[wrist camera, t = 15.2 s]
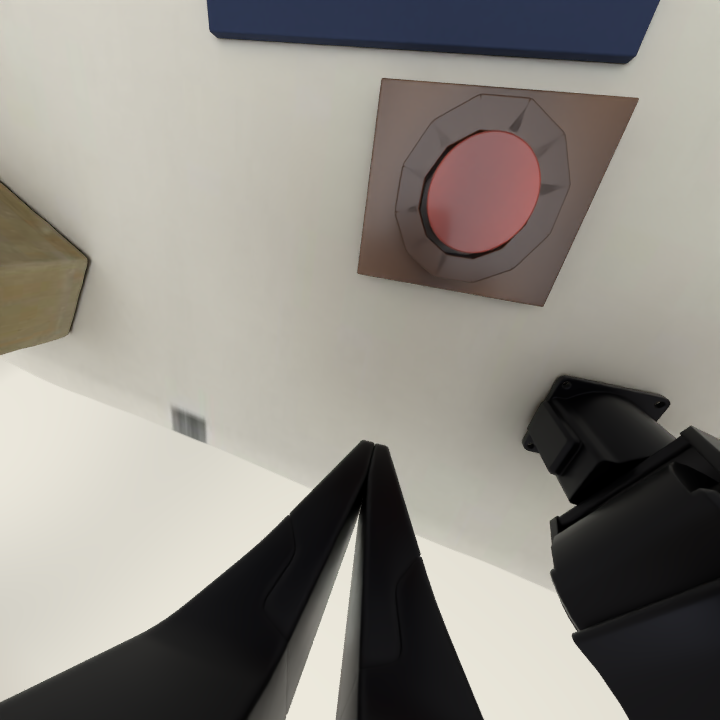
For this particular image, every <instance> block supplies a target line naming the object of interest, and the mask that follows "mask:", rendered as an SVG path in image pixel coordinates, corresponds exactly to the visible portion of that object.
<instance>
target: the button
mask: <svg viewBox="0 0 720 720" xmlns="http://www.w3.org/2000/svg"><path fill="white" fill-rule="evenodd" d="M540 186H541V172H540V167H539V162H538V160H537V157H536V155H535V153H534V151H533V149H532V148H531V147H530V146H529V144H528V143H527V142H526V141H524V140H523V139H522V138H520V137H519V136H517V135H515V134H513V133H510V132H507V131H501V130H490V131H484V132H480V133H477V134H474V135H472V136H470V137H468V138H466V139H464V140H463V141H461V142H460V143H458V144H457V145H456V146H455V147H453V148H452V149H451V150H450V151H449V152H448V153H447V154H446V156H445V157H444V158H443V159H442V161H441V162H440V164H439V165H438V167H437V169H436V171H435V172H434V174H433V177H432V179H431V182H430V185H429V189H428V195H427V216H428V221H429V224H430V227H431V229H432V231H433V232H434V234H435V235H436V237H437V238H438V239H439V240H440V241H441V242H442V243H444V244H445V245H446V246H448V247H449V248H451V249H453V250H456V251H458V252H463V253H482V252H486V251H490V250H492V249H495V248H497V247H499V246H501V245H503V244H504V243H506V242H507V241H509V240H510V239H511V238H513V237H514V236H515V235H516V234H517V233H518V232H519V231H520V230H521V229H522V228H523V226H524V225H525V224H526V222H527V221H528V219H529V218H530V216H531V214H532V213H533V210H534V208H535V206H536V203H537V200H538V197H539V192H540Z"/></svg>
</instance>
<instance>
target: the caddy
mask: <svg viewBox="0 0 720 720" xmlns="http://www.w3.org/2000/svg"><path fill="white" fill-rule="evenodd" d="M86 268H87V258H86V257H85V256H84V255H83V254H82V253H81V252H80V251H79V250H78V249H76V248H75V247H74V246H73V245H72V244H71V243H70V242H68V241H67V240H66V239H65V238H64V237H63V236H62V235H60V234H59V233H58V232H57V231H56V230H55V229H54V228H53V227H52V226H51V225H49V224H48V223H47V222H46V221H45V220H43V219H42V218H41V217H40V216H38V215H37V214H36V213H35V212H34V211H32V210H31V209H30V208H29V207H28V206H27V205H26V204H24V203H23V202H22V201H21V200H20V199H19V198H18V197H16V196H15V195H14V194H13V193H12V192H11V191H10V190H9V189H7V188H6V187H5V186H4V185H3V184H2V183H1V182H0V355H2V354H6V353H9V352H12V351H15V350H19V349H23V348H27V347H32V346H36V345H39V344H43V343H46V342H49V341H53V340H56V339H59V338H62V337H64V336H66V335H68V333H69V330H70V327H71V323H72V320H73V317H74V314H75V309H76V305H77V301H78V297H79V293H80V290H81V287H82V284H83V279H84V274H85V271H86Z"/></svg>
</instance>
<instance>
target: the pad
mask: <svg viewBox="0 0 720 720" xmlns="http://www.w3.org/2000/svg"><path fill="white" fill-rule="evenodd" d="M659 1H660V0H207V7H208V18H209V30H210V32H211V33H212V34H213V35H214V36H216V37H217V38H228V39H244V40H260V41H276V42H292V43H308V44H324V45H340V46H356V47H372V48H388V49H404V50H420V51H436V52H452V53H468V54H484V55H500V56H516V57H532V58H548V59H564V60H580V61H596V62H612V63H628V62H629V61H630V60H632V59H633V58H634V57H635V56H636V54H637V52H638V50H639V47H640V45H641V43H642V41H643V38H644V36H645V34H646V31H647V29H648V27H649V24H650V22H651V20H652V17H653V15H654V13H655V11H656V8H657V6H658V4H659Z"/></svg>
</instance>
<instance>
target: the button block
mask: <svg viewBox="0 0 720 720" xmlns="http://www.w3.org/2000/svg"><path fill="white" fill-rule="evenodd" d="M638 100H639V98H632V97H619V96H607V95H594V94H581V93H568V92H555V91H542V90H530V89H517V88H504V87H491V86H478V85H465V84H453V83H440V82H427V81H414V80H401V79H388V78H382V80H381V87H380V95H379V103H378V111H377V119H376V127H375V135H374V143H373V151H372V159H371V167H370V175H369V183H368V191H367V199H366V207H365V215H364V223H363V231H362V239H361V247H360V255H359V263H358V271H357V273H358V274H362V275H368V276H373V277H379V278H384V279H390V280H396V281H401V282H407V283H412V284H418V285H423V286H429V287H434V288H440V289H446V290H451V291H457V292H462V293H468V294H473V295H479V296H485V297H490V298H496V299H501V300H507V301H512V302H518V303H523V304H529V305H535V306H540V307H543V306H544V304H545V302H546V299H547V297H548V295H549V293H550V291H551V289H552V286H553V284H554V282H555V280H556V278H557V276H558V273H559V271H560V269H561V267H562V265H563V263H564V260H565V258H566V256H567V254H568V252H569V250H570V247H571V245H572V243H573V241H574V239H575V237H576V234H577V232H578V230H579V228H580V226H581V224H582V221H583V219H584V217H585V215H586V213H587V211H588V209H589V206H590V204H591V202H592V200H593V198H594V196H595V193H596V191H597V189H598V187H599V185H600V183H601V180H602V178H603V176H604V174H605V172H606V170H607V167H608V165H609V163H610V161H611V159H612V157H613V154H614V152H615V150H616V148H617V146H618V144H619V141H620V139H621V137H622V135H623V133H624V131H625V128H626V126H627V124H628V122H629V120H630V118H631V115H632V113H633V111H634V109H635V107H636V105H637V102H638ZM490 130H501V131H507V132H510V133H513V134H515V135H517V136H519V137H520V138H522V139H523V140H524V141H526V142H527V143H528V144H529V146H530V147H531V148H532V149H533V151H534V153H535V155H536V157H537V160H538V162H539V167H540V172H541V186H540V192H539V197H538V200H537V203H536V206H535V208H534V210H533V213H532V214H531V216H530V218H529V219H528V221H527V222H526V224H525V225H524V226H523V228H522V229H521V230H520V231H519V232H518V233H517V234H516V235H515V236H514V237H513V238H511V239H510V240H509V241H507V242H506V243H504V244H503V245H501V246H499V247H497V248H495V249H492V250H490V251H486V252H482V253H463V252H458V251H456V250H453V249H451V248H449V247H448V246H446V245H445V244H444V243H442V242H441V241H440V240H439V239H438V238H437V237H436V235H435V234H434V232H433V231H432V229H431V227H430V224H429V221H428V216H427V195H428V189H429V185H430V182H431V179H432V177H433V174H434V172H435V171H436V169H437V167H438V165H439V164H440V162H441V161H442V159H443V158H444V157H445V156H446V154H447V153H448V152H449V151H450V150H451V149H452V148H453V147H455V146H456V145H457V144H458V143H460V142H461V141H463V140H464V139H466V138H468V137H470V136H472V135H474V134H477V133H480V132H484V131H490Z"/></svg>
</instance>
